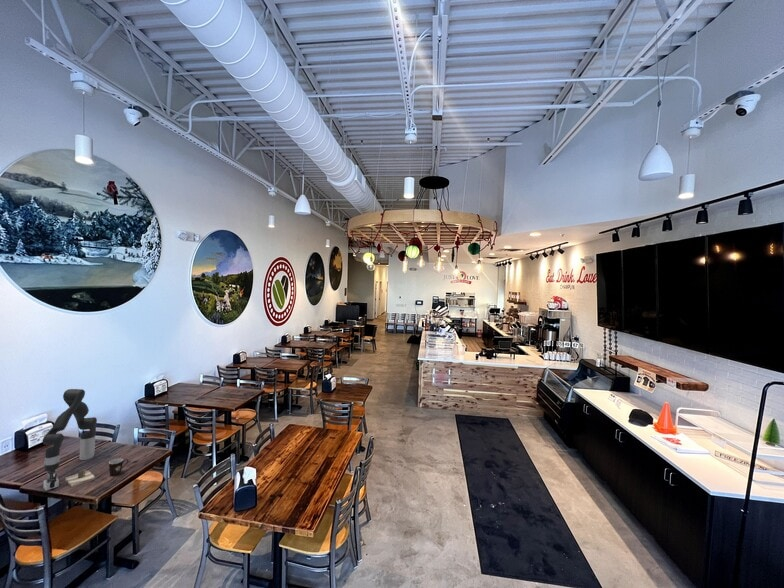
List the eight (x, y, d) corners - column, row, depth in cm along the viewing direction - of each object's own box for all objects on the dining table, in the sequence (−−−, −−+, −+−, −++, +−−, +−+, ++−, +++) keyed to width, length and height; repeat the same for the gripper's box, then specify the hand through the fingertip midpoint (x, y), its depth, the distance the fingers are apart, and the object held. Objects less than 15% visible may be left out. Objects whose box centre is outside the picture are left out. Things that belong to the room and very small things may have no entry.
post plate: (65, 479, 242) (65, 470, 242) (88, 472, 252) (88, 463, 253) (71, 487, 233) (71, 478, 233) (95, 479, 244) (95, 470, 244)
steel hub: (43, 487, 230) (43, 480, 230) (56, 483, 236) (56, 476, 236) (45, 490, 227) (46, 483, 227) (58, 486, 232) (58, 479, 232)
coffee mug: (107, 478, 245) (108, 465, 245) (108, 473, 252) (109, 460, 252) (127, 474, 252) (127, 461, 252) (128, 469, 259) (128, 456, 259)
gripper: (62, 463, 231) (61, 486, 231) (56, 457, 239) (55, 479, 238) (47, 467, 224) (46, 491, 224) (42, 461, 232) (40, 484, 232)
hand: (51, 485), depth 231 cm, fingers closed on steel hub, 6 cm apart
